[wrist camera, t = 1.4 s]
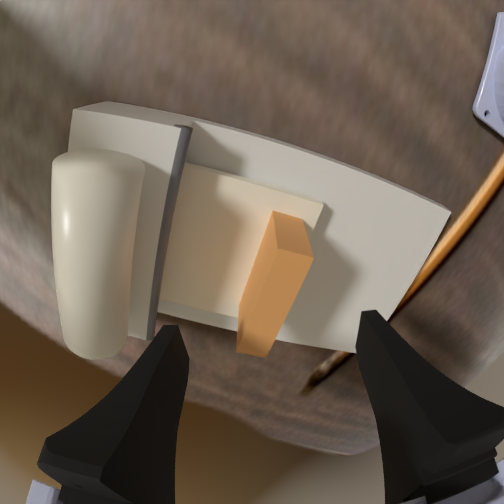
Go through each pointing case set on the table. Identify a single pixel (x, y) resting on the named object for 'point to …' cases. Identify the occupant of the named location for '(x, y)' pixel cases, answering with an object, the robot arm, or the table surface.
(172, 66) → the table surface
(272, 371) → the table surface
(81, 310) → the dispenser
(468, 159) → the table surface
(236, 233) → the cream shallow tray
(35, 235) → the table surface
